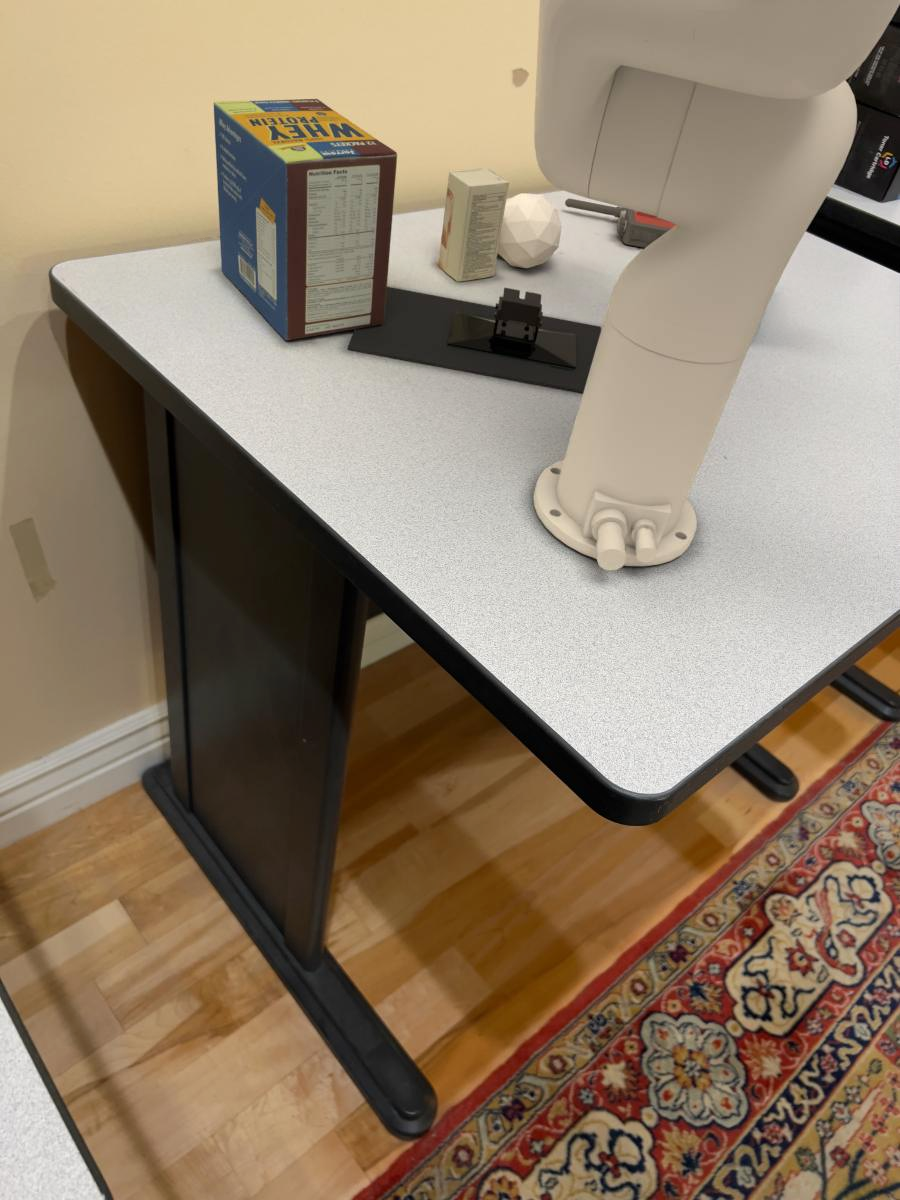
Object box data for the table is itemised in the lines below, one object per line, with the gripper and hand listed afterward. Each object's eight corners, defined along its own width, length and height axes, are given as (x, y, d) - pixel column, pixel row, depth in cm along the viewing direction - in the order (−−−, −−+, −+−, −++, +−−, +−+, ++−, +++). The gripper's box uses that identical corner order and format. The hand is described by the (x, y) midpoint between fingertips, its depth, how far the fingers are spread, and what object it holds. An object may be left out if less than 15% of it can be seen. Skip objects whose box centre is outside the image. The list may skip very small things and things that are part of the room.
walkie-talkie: (711, 238, 117) (562, 209, 116) (723, 203, 114) (570, 174, 113) (720, 264, 111) (562, 234, 110) (733, 228, 108) (571, 197, 107)
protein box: (313, 260, 93) (318, 96, 83) (385, 326, 85) (400, 152, 74) (218, 271, 89) (210, 99, 78) (284, 342, 80) (285, 159, 69)
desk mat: (604, 397, 82) (605, 394, 82) (347, 349, 81) (347, 346, 81) (600, 329, 92) (600, 326, 92) (372, 286, 91) (372, 283, 91)
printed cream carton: (473, 260, 100) (489, 166, 93) (494, 277, 97) (512, 182, 91) (434, 265, 97) (447, 169, 91) (455, 282, 95) (470, 185, 88)
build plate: (574, 338, 89) (586, 294, 86) (574, 373, 84) (588, 327, 81) (453, 314, 89) (461, 269, 86) (446, 347, 83) (454, 301, 80)
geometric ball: (532, 288, 104) (586, 245, 99) (491, 275, 97) (546, 229, 93) (508, 232, 105) (560, 187, 100) (467, 216, 99) (520, 168, 94)
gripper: (674, 26, 65) (607, 268, 78) (873, 65, 65) (774, 299, 78) (666, 5, 70) (605, 235, 83) (850, 41, 71) (761, 264, 83)
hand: (687, 265), depth 80 cm, fingers closed
